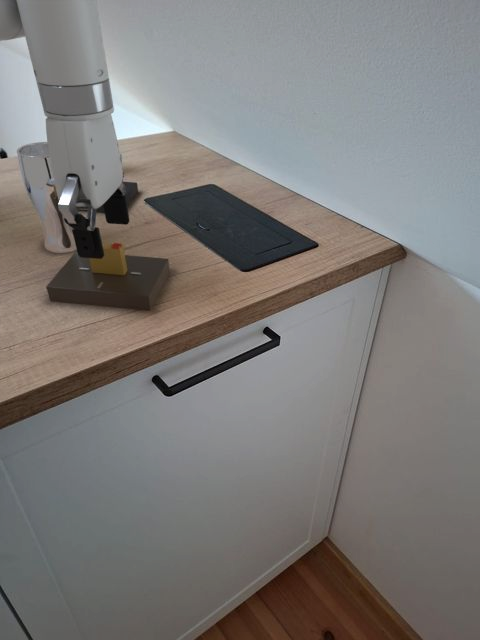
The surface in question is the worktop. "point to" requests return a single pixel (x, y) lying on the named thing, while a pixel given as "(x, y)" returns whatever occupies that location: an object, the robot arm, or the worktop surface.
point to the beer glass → (45, 196)
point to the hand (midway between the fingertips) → (105, 239)
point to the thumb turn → (110, 260)
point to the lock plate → (110, 283)
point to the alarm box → (130, 194)
